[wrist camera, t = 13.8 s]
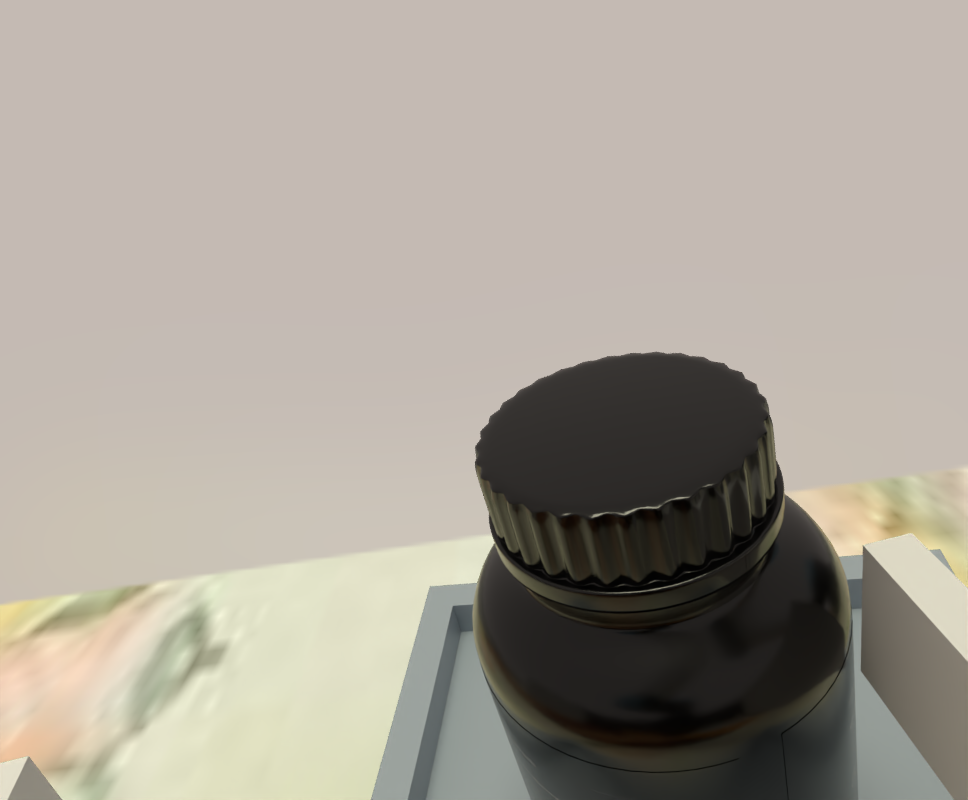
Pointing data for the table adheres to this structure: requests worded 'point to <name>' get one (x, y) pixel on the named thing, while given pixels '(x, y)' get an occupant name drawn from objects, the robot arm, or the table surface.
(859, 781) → the tray
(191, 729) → the table surface
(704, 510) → the supplement bottle
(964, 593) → the robot arm
